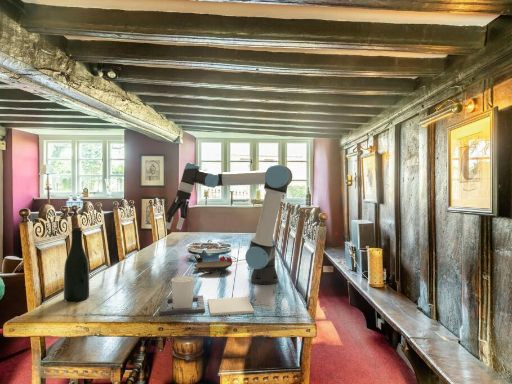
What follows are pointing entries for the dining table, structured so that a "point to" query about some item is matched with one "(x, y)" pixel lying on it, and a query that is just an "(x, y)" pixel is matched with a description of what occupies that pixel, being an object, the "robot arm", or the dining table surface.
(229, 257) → the glasses
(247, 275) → the dining table surface
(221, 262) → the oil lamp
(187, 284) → the candle holder
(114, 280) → the dining table surface
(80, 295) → the dark wine bottle
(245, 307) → the cream tile
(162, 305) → the dark grey square frame
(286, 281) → the dining table surface
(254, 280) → the robot arm
